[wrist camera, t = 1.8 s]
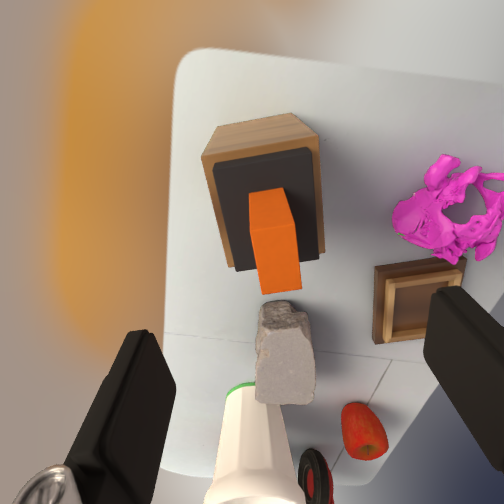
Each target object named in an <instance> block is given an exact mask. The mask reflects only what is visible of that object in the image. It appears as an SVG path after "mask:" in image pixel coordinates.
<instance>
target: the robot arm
mask: <svg viewBox="0 0 504 504" xmlns="http://www.w3.org/2000/svg"><path fill="white" fill-rule="evenodd" d="M423 354H424V358H425V361H426V363H427V364H428V366H429V367H430V369H431V371H432V372H433V374H434V375H435V377H436V378H437V380H438V382H439V383H440V385H441V386H442V388H443V389H444V391H445V393H446V394H447V396H448V397H449V399H450V400H451V402H452V404H453V405H454V407H455V408H456V410H457V412H458V413H459V415H460V416H461V418H462V419H463V421H464V423H465V424H466V426H467V427H468V429H469V430H470V432H471V434H472V435H473V437H474V438H475V440H476V441H477V443H478V444H479V446H480V448H481V449H482V451H483V452H484V454H485V456H486V457H487V459H488V460H489V462H490V463H491V465H492V466H493V467H494V468H495V469H496V470H497V471H502V473H503V474H504V327H503V326H501V325H500V324H499V323H498V322H497V321H496V320H495V319H494V318H493V317H492V316H491V315H490V314H489V313H487V312H486V311H485V310H484V309H483V308H482V307H481V306H480V305H479V304H478V303H477V302H476V301H475V300H474V299H473V298H472V297H471V296H470V295H469V294H468V293H467V292H466V291H465V290H464V289H463V288H462V287H460V286H458V285H455V286H448V287H441V288H438V289H437V290H436V293H433V294H432V295H431V301H430V307H429V314H428V321H427V328H426V335H425V342H424V349H423ZM175 396H176V384H175V381H174V379H173V377H172V374H171V372H170V370H169V367H168V365H167V363H166V361H165V358H164V356H163V354H162V352H161V349H160V347H159V345H158V343H157V340H156V338H155V336H154V334H153V333H149V332H148V330H146V329H144V330H137V331H130V332H129V333H128V334H127V335H126V338H125V339H124V342H123V344H122V346H121V348H120V350H119V352H118V354H117V357H116V359H115V361H114V363H113V365H112V367H111V369H110V371H109V374H108V375H107V376H106V377H105V379H104V380H103V382H102V384H101V386H100V388H99V390H98V393H97V395H96V397H95V399H94V401H93V403H92V405H91V407H90V409H89V412H88V413H87V416H86V418H85V420H84V422H83V424H82V426H81V428H80V430H79V432H78V434H77V437H76V439H75V441H74V443H73V445H72V447H71V449H70V451H69V453H68V455H67V458H66V460H65V462H64V464H62V465H53V466H50V467H47V468H45V469H44V470H42V471H40V472H39V473H37V474H36V475H35V476H34V477H32V478H31V479H30V480H29V481H28V482H27V483H26V484H25V485H24V487H23V488H22V489H21V490H20V491H19V493H18V495H17V496H16V498H15V499H14V501H13V503H12V504H150V503H151V501H152V497H153V493H154V489H155V484H156V480H157V475H158V471H159V467H160V462H161V458H162V453H163V449H164V444H165V440H166V436H167V431H168V427H169V422H170V418H171V413H172V409H173V404H174V400H175Z"/></svg>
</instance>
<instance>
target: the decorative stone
mask: <svg viewBox="0 0 504 504" xmlns="http://www.w3.org/2000/svg"><path fill="white" fill-rule="evenodd" d="M255 350H256V353H257V355H258V357H257V362H256V376H255V387H256V388H255V400H257V401H258V402H259V403H265V404H269V403H272V404H279V405H286V404H298V405H306V404H309V403H310V402H312V401H313V399H314V390H315V386H316V366H315V357H314V354H313V345H312V340H311V331H310V323H309V321H308V315H307V313H306V312H297V311H296V310H295V308H294V307H293V306H292V305H291V304H290V303H289V302H288V301H285V300H281V301H270V302H267V303H265V304H263V305H262V306H261V308H260V311H259V321H258V333H257V337H256V347H255Z"/></svg>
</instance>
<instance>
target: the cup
mask: <svg viewBox="0 0 504 504" xmlns="http://www.w3.org/2000/svg"><path fill="white" fill-rule="evenodd" d="M255 388H256V387H255V383H245V384H241V385H239V386H236V387H234V388H233V389H232V390H231V391H230V392H229V393H228V394H227V397H226V405H225V406H226V407H225V413H224V418H223V424H222V430H221V436H220V442H219V447H218V453H217V459H216V465H215V471H214V476H213V482H212V485H211V487H210V488H209V490H208V491H207V493H206V495H205V499H204V502H203V504H306V501H305V495H304V492H303V490H302V489H301V487H300V486H299V485H298V483H297V479H296V474H295V470H294V465H293V461H292V456H291V452H290V448H289V443H288V439H287V434H286V430H285V425H284V421H283V416H282V412H281V407H280V405H279V404H272V403H269V404H265V403H259V402H258V401H257V400H255Z"/></svg>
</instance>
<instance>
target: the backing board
mask: <svg viewBox="0 0 504 504" xmlns="http://www.w3.org/2000/svg"><path fill="white" fill-rule="evenodd" d="M458 257H459V256H458ZM458 260H459V261H457V263H456V264H455V265H453V264H451V263H450V262H449V261H447V260H446V259H444V258H441V259H440V258H438V257H436V258H429V259H422V260H416V261H409V262H402V263H395V264H389V265H382V266H375V272H374V299H373V327H372V339H373V341H374V343H375V345H376V344H384V343H391V342H399V341H406V340H414V339H421V338H425V335H426V328H427V321H428V314H429V307H430V301H431V295H432V294H433V293H436V290H437V289H438V288H441V287H448V286H455V285H458V286H460V287H461V285H462V281H463V276H464V271H465V267H466V262H467V258H465V257H464V256H463V255H461V256H460V257H459V259H458Z"/></svg>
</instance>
